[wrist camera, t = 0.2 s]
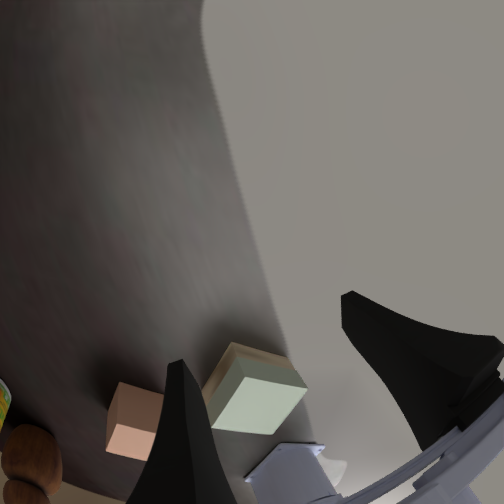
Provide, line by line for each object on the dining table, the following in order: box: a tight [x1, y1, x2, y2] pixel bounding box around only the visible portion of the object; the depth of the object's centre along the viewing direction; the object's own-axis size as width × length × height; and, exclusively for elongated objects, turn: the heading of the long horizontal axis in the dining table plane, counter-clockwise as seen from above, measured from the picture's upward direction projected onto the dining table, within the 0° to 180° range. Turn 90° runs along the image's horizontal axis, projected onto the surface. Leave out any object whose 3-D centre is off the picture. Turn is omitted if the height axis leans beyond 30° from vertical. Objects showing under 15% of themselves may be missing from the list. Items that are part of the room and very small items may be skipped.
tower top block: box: [206, 357, 308, 435], centre depth 23 cm, size 6×6×2 cm
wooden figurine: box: [1, 424, 62, 504], centre depth 16 cm, size 7×6×15 cm
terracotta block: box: [106, 382, 164, 461], centre depth 22 cm, size 4×4×5 cm
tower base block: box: [201, 342, 295, 406], centre depth 26 cm, size 6×6×2 cm
